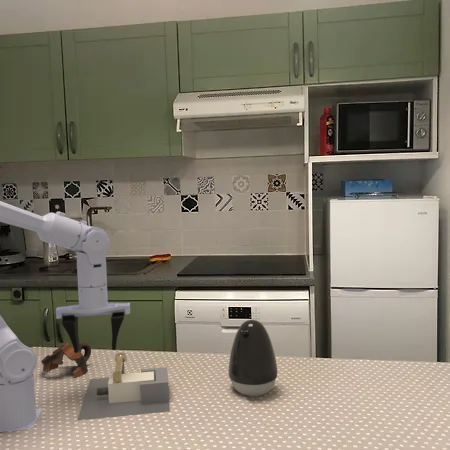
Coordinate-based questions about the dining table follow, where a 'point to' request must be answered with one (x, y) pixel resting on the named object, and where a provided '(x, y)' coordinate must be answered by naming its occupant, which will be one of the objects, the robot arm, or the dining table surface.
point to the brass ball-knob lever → (119, 366)
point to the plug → (126, 387)
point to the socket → (150, 401)
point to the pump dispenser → (252, 360)
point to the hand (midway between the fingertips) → (95, 349)
